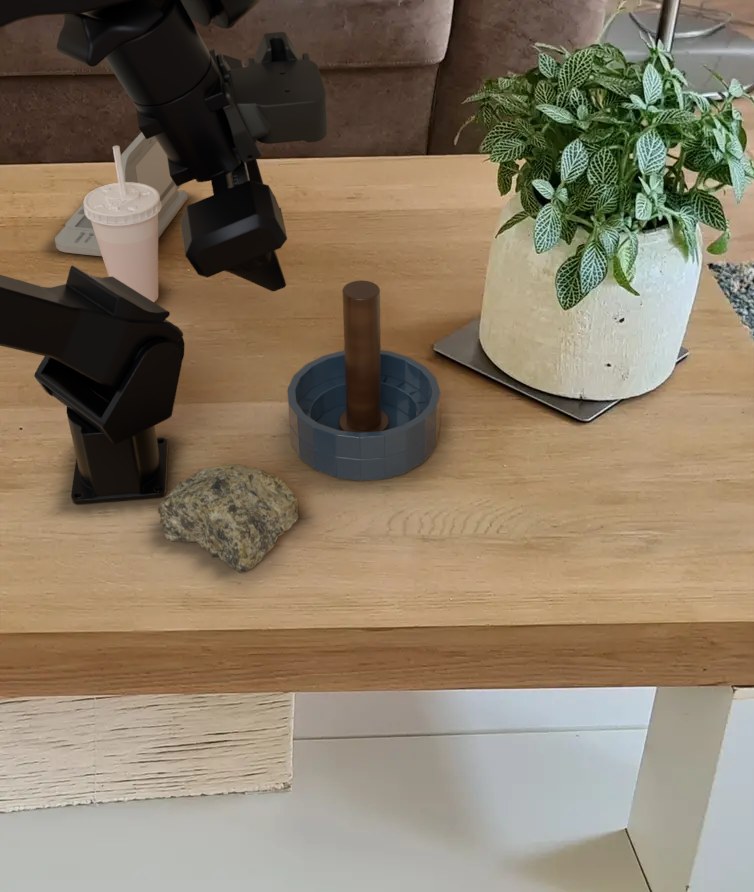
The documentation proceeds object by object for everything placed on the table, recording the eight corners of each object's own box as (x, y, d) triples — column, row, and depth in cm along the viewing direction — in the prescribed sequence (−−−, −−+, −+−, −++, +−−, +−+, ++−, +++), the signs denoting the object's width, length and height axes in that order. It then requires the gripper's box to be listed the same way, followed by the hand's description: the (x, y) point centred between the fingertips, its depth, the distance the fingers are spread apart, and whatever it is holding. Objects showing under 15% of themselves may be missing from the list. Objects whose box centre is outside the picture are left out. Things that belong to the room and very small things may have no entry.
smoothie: (182, 281, 107) (163, 136, 98) (161, 318, 102) (140, 169, 93) (113, 276, 107) (88, 131, 98) (90, 313, 102) (61, 163, 93)
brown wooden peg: (358, 454, 87) (354, 309, 79) (329, 429, 89) (323, 286, 81) (399, 436, 89) (399, 292, 81) (370, 412, 91) (367, 270, 83)
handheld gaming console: (103, 191, 120) (88, 97, 114) (189, 200, 120) (178, 105, 113) (50, 252, 110) (30, 152, 104) (143, 262, 109) (128, 162, 103)
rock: (227, 481, 85) (221, 431, 82) (312, 522, 82) (310, 472, 79) (157, 536, 80) (149, 485, 77) (245, 582, 77) (240, 531, 74)
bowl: (448, 479, 86) (450, 430, 83) (295, 491, 84) (292, 442, 81) (426, 390, 94) (427, 344, 91) (287, 400, 93) (283, 353, 90)
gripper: (312, 113, 66) (399, 291, 79) (267, -52, 78) (349, 127, 90) (134, 187, 67) (248, 351, 80) (116, 13, 79) (217, 181, 91)
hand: (270, 244), depth 85 cm, fingers open, 9 cm apart
